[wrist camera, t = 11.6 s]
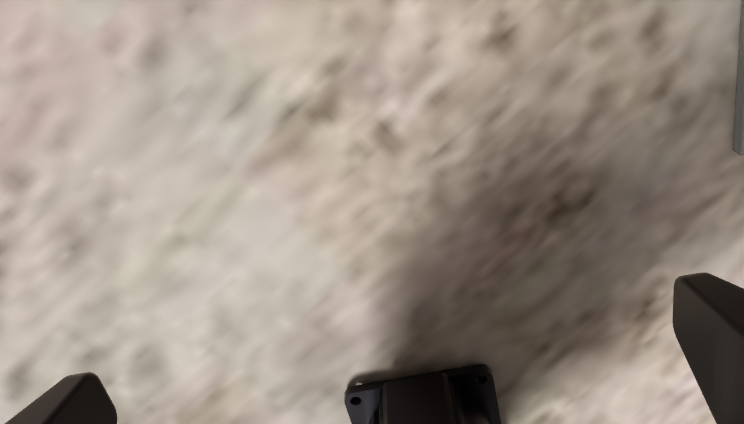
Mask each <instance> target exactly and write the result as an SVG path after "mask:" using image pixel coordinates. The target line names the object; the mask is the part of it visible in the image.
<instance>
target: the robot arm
mask: <svg viewBox="0 0 744 424" xmlns="http://www.w3.org/2000/svg"><path fill="white" fill-rule="evenodd" d="M673 328H674V332H675V335H676V338H677V340H678V342H679V344H680V346H681V348H682V351H683V353H684V355H685V357H686V359H687V361H688V364H689V366H690V368H691V370H692V372H693V374H694V376H695V379H696V381H697V383H698V385H699V387H700V389H701V391H702V394H703V396H704V398H705V400H706V402H707V404H708V407H709V409H710V411H711V413H712V415H713V417H714V419H715V421H716V423H717V424H744V289H743V288H741V287H738V286H736V285H734V284H732V283H729V282H727V281H725V280H723V279H720V278H718V277H716V276H714V275H711V274H709V273H696V274H690V275H684V276H680V277H678V278H677V279H676V280H675V283H674V297H673ZM480 375H484V376H483V377H477V376H480ZM353 397H359V398H353ZM345 405H346V408H347V411H348V414H349V417H350V420H351V423H352V424H501V420H500V415H499V409H498V404H497V398H496V392H495V387H494V381H493V376H492V372H491V370H490V368H489V367H488V366H487V365H483V364H478V365H472V366H466V367H461V368H455V369H449V370H443V371H438V372H432V373H426V374H420V375H415V376H409V377H403V378H397V379H392V380H386V381H380V382H374V383H369V384H363V385H357V386H352V387H349V388H348V389H347V390H346V392H345ZM5 424H117V413H116V409H115V406H114V405H113V403H112V401H111V399H110V397H109V395H108V394H107V392H106V390H105V388H104V386H103V384H102V383H101V381H100V379H99V377H98V376H97V375H96V374H94V373H91V372H87V373H81V374H74V375H70V376H67V377H65V378H63V379H62V380H61V381H60V382H58V383H57V384H56V385H54V386H53V387H52V388H50V389H49V390H48V391H47V392H45V393H44V394H43V395H41V396H40V397H39V398H37V399H36V400H35V401H34V402H32V403H31V404H30V405H28V406H27V407H26V408H25V409H23V410H22V411H21V412H19V413H18V414H17V415H15V416H14V417H13V418H12V419H10V420H9V421H8V422H6V423H5Z"/></svg>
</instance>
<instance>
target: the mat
mask: <svg viewBox="0 0 744 424" xmlns="http://www.w3.org/2000/svg"><path fill="white" fill-rule="evenodd" d="M733 150H734V151H735V152H737V153H738V154H739V155H744V0H742V6H741V23H740V40H739V56H738V73H737V90H736V106H735V123H734V140H733Z"/></svg>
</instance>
